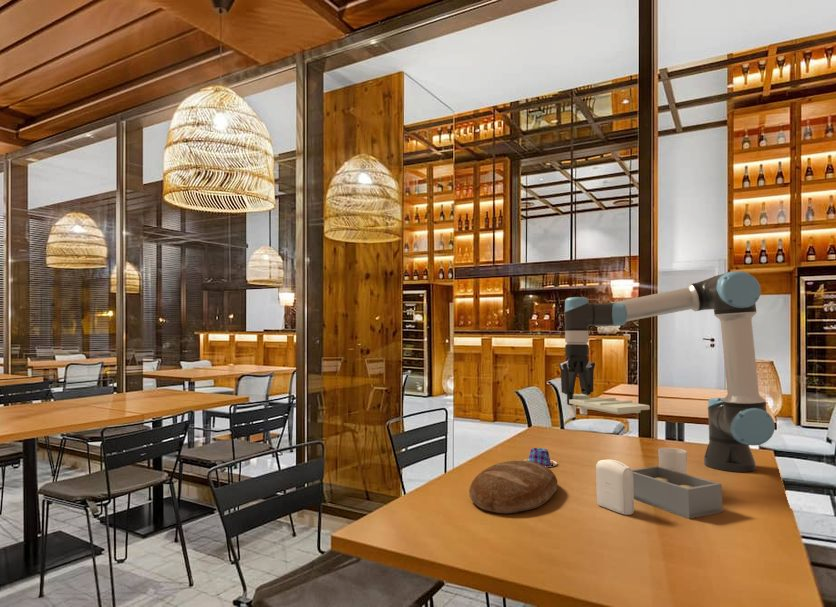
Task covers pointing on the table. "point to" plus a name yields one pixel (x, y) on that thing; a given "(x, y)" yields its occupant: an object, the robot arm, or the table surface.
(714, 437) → the robot arm
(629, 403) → the lid
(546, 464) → the patterned hat
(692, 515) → the tub
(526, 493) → the bread
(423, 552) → the table surface
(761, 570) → the table surface
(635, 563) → the table surface
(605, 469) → the photo printer
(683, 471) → the white cup
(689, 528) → the table surface
